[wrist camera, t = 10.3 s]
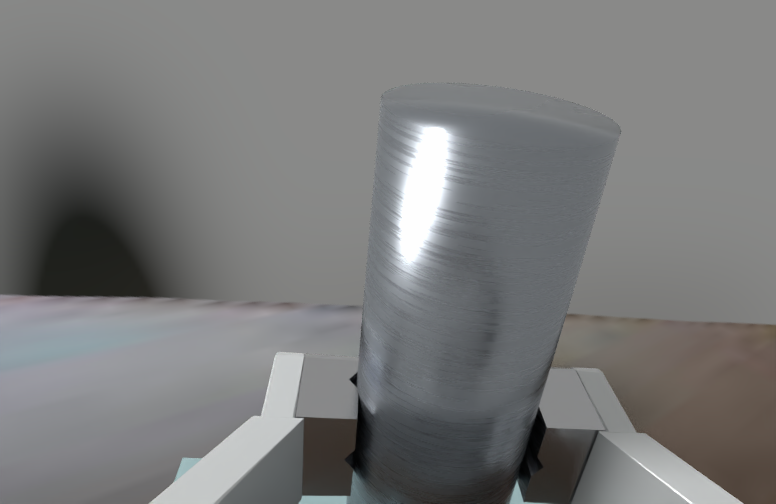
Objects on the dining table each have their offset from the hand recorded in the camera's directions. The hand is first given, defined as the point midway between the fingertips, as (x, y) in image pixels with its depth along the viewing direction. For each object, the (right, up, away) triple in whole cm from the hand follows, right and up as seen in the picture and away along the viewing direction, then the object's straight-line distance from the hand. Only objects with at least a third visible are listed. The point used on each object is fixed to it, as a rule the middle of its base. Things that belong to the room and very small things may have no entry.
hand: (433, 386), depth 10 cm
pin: (-1, -6, +2) cm, 7 cm away
